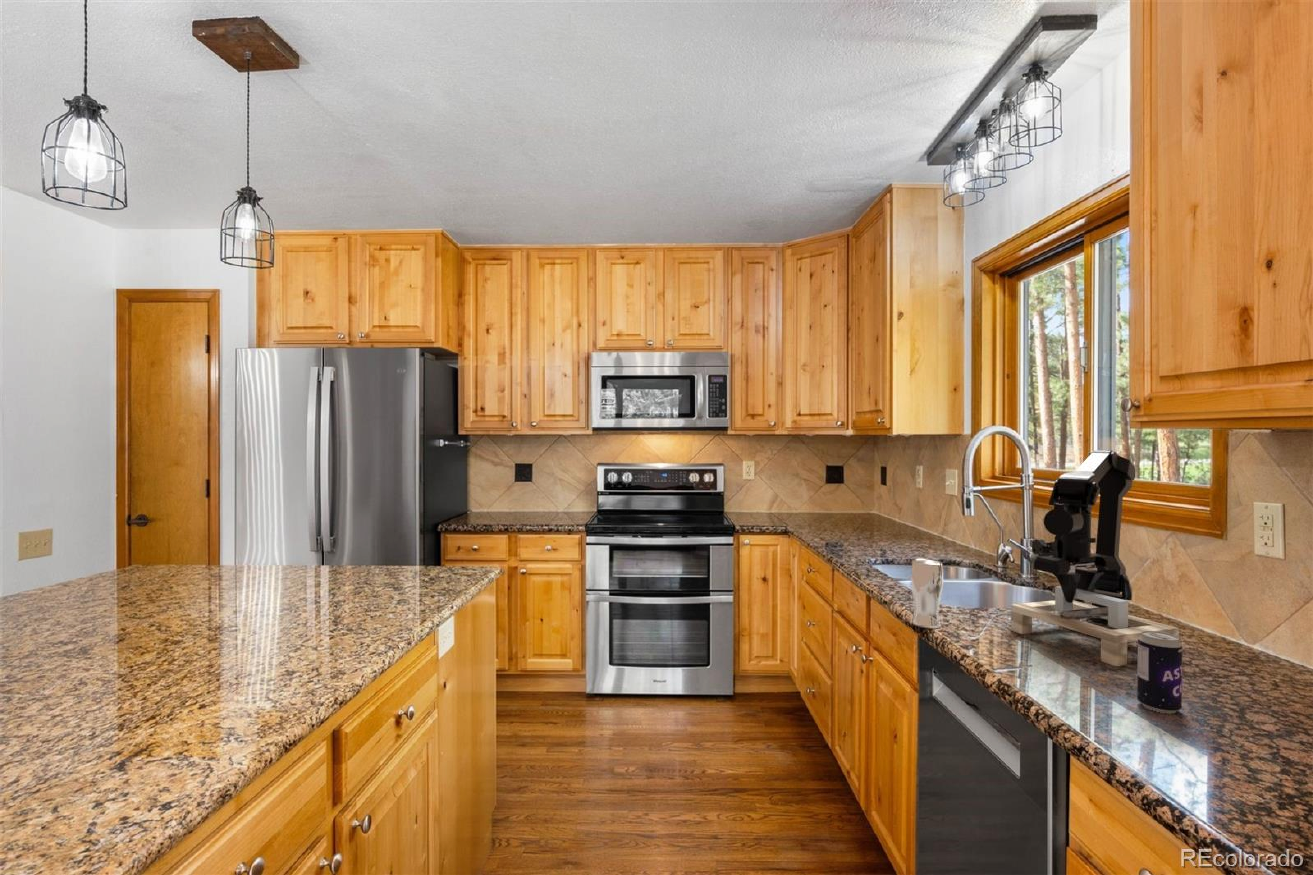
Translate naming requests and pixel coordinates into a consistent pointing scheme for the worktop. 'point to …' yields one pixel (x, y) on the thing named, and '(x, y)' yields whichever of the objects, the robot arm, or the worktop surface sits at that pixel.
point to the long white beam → (1115, 605)
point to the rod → (1085, 613)
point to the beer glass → (927, 592)
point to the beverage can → (1159, 672)
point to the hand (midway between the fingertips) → (1074, 601)
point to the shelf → (1087, 628)
